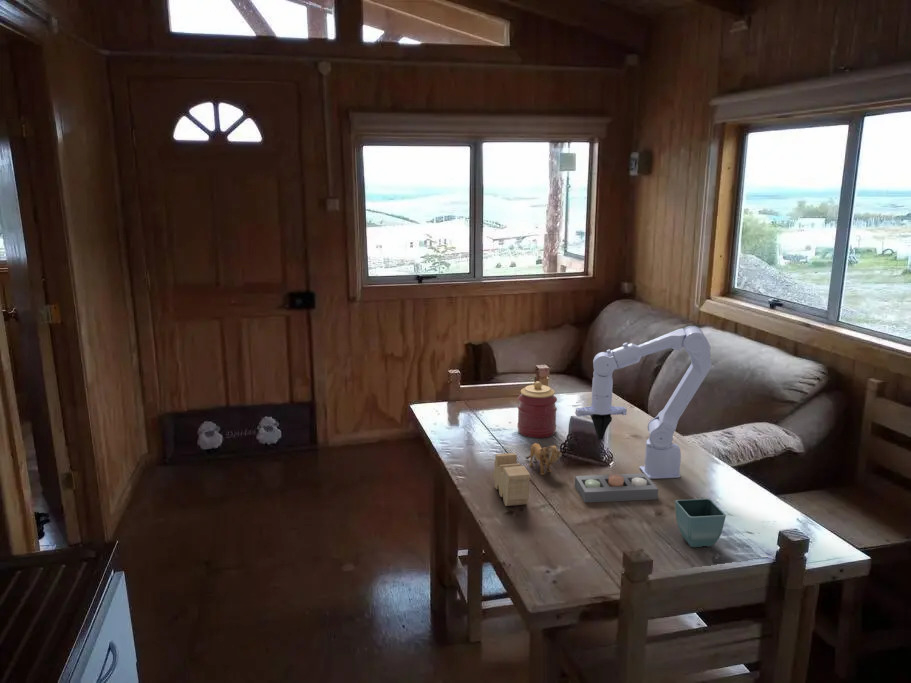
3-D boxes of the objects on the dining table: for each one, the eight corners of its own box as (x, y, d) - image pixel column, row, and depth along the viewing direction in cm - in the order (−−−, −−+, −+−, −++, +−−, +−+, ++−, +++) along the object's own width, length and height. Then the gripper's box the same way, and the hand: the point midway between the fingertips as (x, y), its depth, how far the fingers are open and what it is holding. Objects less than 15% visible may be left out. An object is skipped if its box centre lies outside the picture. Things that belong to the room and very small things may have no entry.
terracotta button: (620, 483, 190) (621, 473, 189) (625, 490, 186) (625, 480, 185) (606, 484, 189) (606, 474, 188) (610, 491, 185) (611, 480, 185)
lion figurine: (563, 475, 198) (564, 446, 196) (549, 479, 196) (550, 450, 194) (532, 458, 211) (533, 430, 208) (518, 461, 208) (518, 433, 206)
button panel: (644, 482, 193) (644, 473, 193) (657, 499, 184) (658, 488, 183) (574, 485, 192) (575, 476, 191) (584, 502, 182) (585, 492, 181)
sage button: (597, 489, 189) (597, 479, 189) (601, 495, 185) (602, 485, 185) (582, 489, 189) (583, 479, 188) (586, 496, 185) (587, 486, 184)
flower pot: (671, 533, 167) (674, 499, 164) (706, 531, 167) (709, 497, 165) (686, 552, 158) (689, 517, 156) (723, 550, 159) (726, 515, 157)
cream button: (642, 487, 190) (643, 477, 190) (648, 493, 187) (648, 483, 186) (628, 487, 190) (629, 477, 189) (633, 494, 186) (634, 484, 185)
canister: (562, 429, 234) (564, 379, 230) (545, 441, 223) (547, 389, 219) (527, 422, 241) (529, 373, 237) (510, 433, 230) (511, 383, 226)
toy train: (511, 482, 194) (512, 449, 192) (529, 510, 178) (530, 474, 176) (492, 483, 193) (493, 450, 191) (508, 512, 177) (509, 476, 175)
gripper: (622, 389, 202) (619, 432, 205) (573, 390, 201) (571, 434, 204) (630, 396, 195) (627, 441, 199) (580, 398, 194) (578, 443, 197)
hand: (599, 438), depth 201 cm, fingers closed
